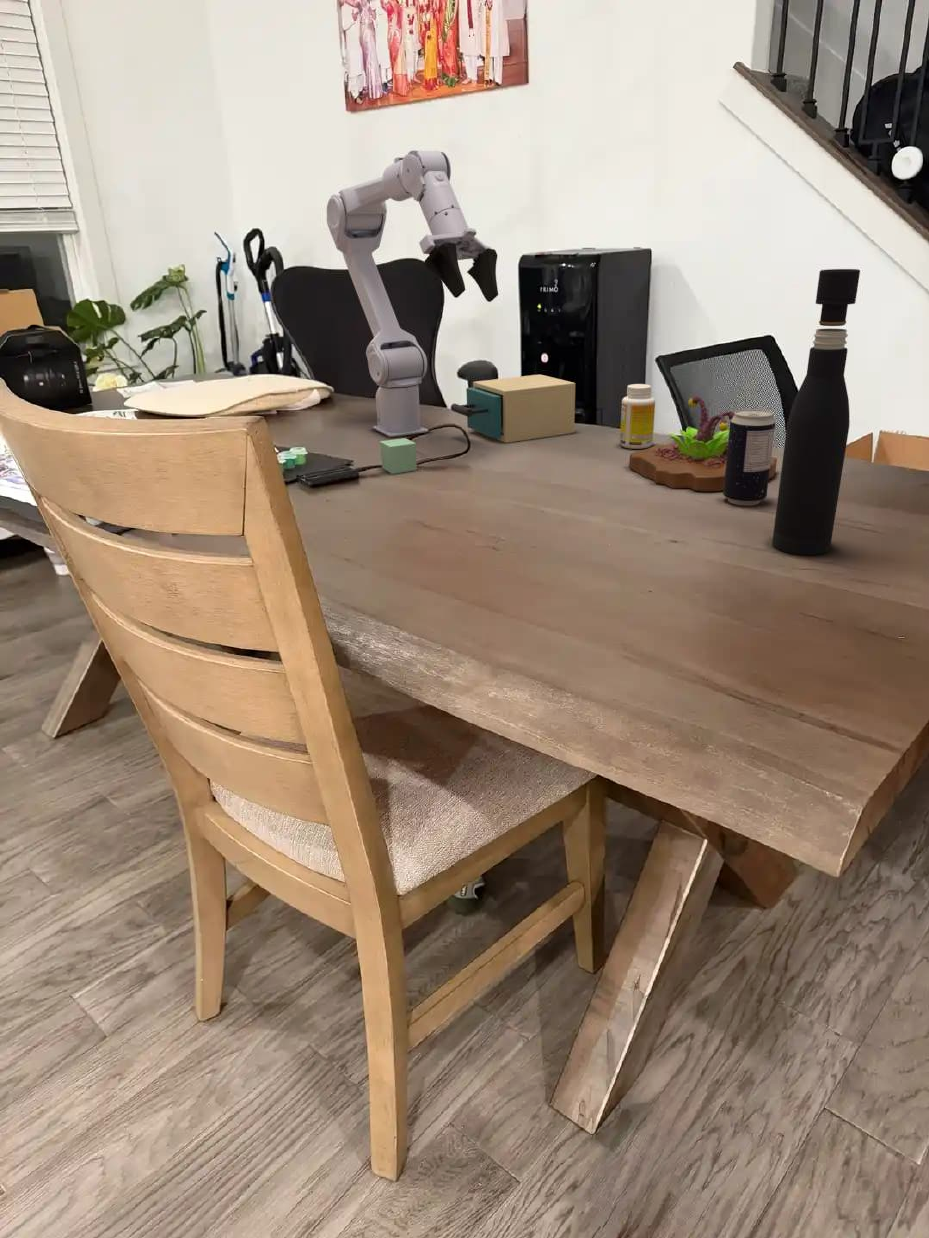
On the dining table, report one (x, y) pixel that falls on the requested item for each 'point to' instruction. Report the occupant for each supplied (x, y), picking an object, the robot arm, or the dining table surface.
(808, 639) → the dining table surface
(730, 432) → the beverage can
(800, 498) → the black water bottle
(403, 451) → the sage green cube
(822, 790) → the dining table surface
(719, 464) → the plant
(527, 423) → the beige box
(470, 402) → the drawer
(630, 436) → the supplement bottle
